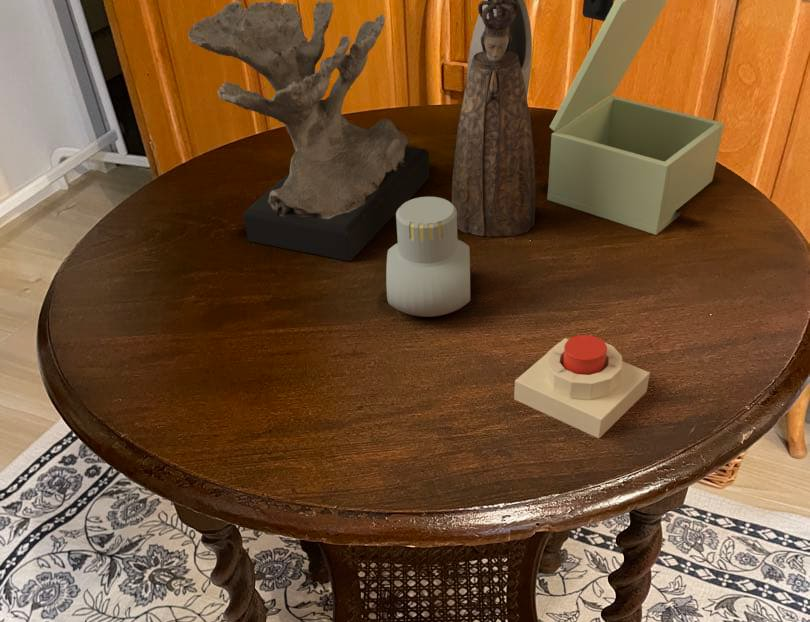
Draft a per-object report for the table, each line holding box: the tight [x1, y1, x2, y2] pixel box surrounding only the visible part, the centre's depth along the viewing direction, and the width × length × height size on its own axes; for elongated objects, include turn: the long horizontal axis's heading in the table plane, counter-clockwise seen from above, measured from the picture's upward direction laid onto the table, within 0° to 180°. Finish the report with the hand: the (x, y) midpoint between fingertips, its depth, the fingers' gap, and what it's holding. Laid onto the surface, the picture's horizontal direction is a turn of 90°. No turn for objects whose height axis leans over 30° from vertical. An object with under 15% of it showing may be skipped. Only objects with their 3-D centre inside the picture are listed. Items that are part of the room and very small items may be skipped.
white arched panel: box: [465, 0, 533, 96], centre depth 105 cm, size 18×7×19 cm, turn 164°
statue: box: [451, 0, 536, 238], centre depth 90 cm, size 9×8×25 cm
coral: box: [188, 0, 430, 262], centre depth 97 cm, size 25×20×21 cm
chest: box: [546, 95, 725, 236], centre depth 100 cm, size 15×13×8 cm
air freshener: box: [385, 196, 471, 318], centre depth 86 cm, size 11×8×10 cm
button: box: [563, 334, 607, 375], centre depth 75 cm, size 4×4×2 cm
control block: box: [513, 337, 651, 439], centre depth 77 cm, size 9×8×4 cm
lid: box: [549, 0, 668, 132], centre depth 93 cm, size 15×13×5 cm
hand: (612, 8), depth 91 cm, fingers closed on lid, 5 cm apart
